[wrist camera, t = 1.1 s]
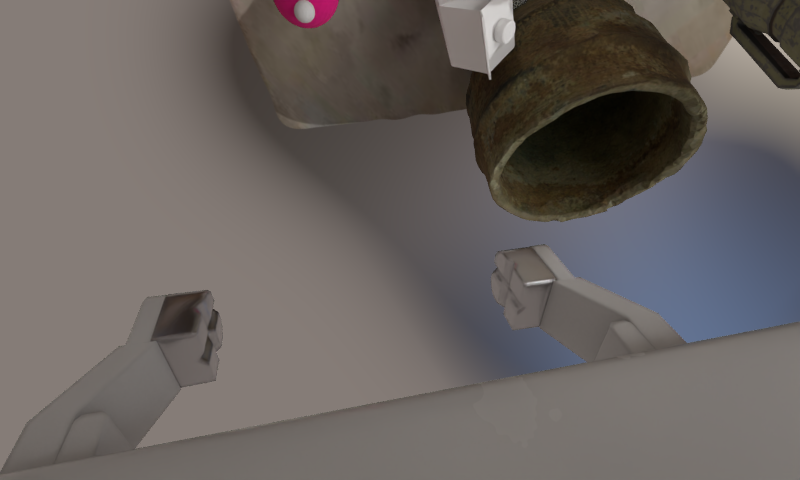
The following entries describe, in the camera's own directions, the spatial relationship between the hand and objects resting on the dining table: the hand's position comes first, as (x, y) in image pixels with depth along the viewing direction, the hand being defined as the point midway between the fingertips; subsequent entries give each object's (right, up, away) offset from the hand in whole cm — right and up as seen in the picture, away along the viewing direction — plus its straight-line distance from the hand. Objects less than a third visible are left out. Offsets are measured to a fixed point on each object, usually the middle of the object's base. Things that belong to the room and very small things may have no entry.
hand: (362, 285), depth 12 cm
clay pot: (+21, +31, +49) cm, 62 cm away
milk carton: (+8, +36, +39) cm, 53 cm away
